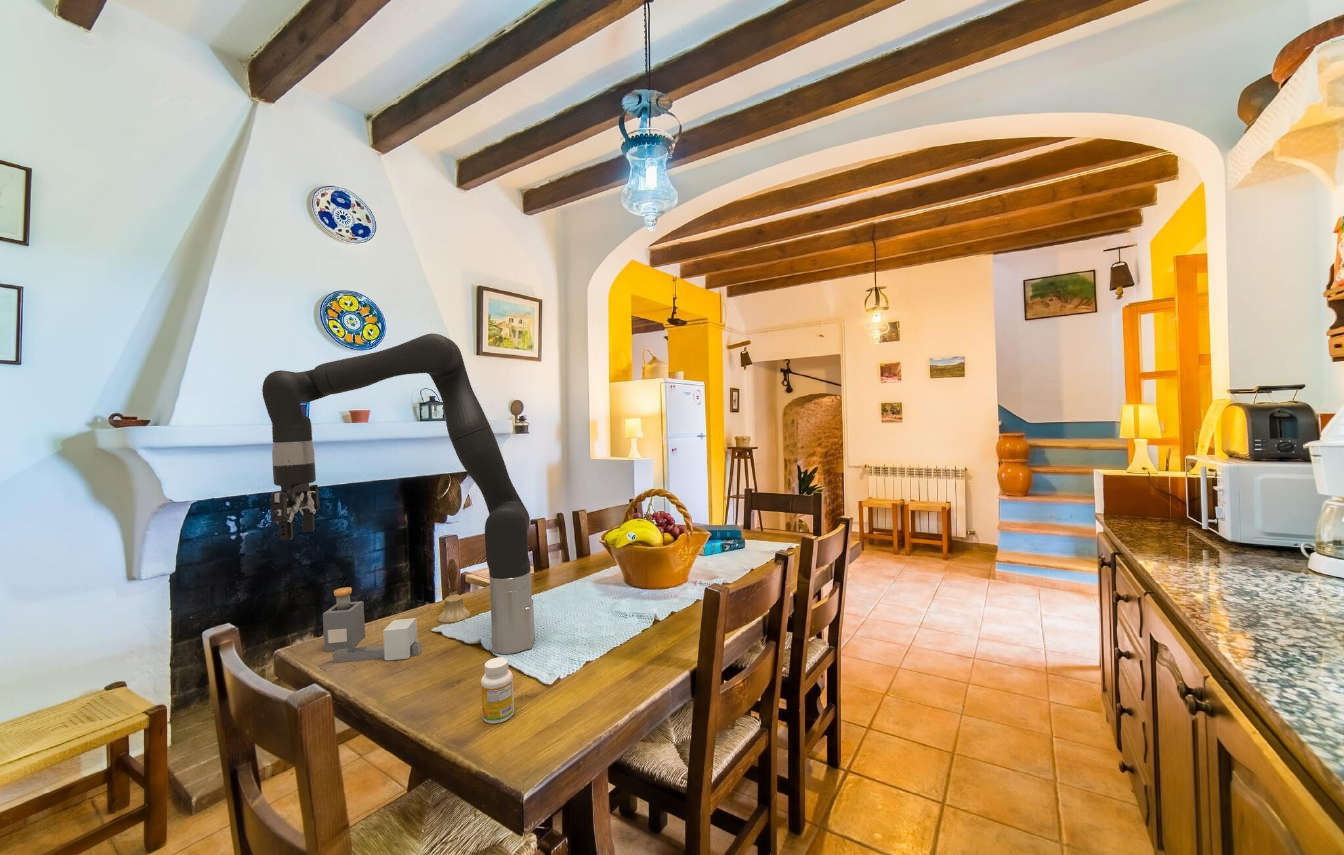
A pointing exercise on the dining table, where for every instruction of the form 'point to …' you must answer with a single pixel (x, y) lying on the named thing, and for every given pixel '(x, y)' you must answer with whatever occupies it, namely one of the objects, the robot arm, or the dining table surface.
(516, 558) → the robot arm
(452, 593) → the hand bell
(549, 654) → the dining table surface
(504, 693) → the supplement bottle
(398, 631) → the carriage
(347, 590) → the ball
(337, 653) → the rail
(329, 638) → the grey square housing
